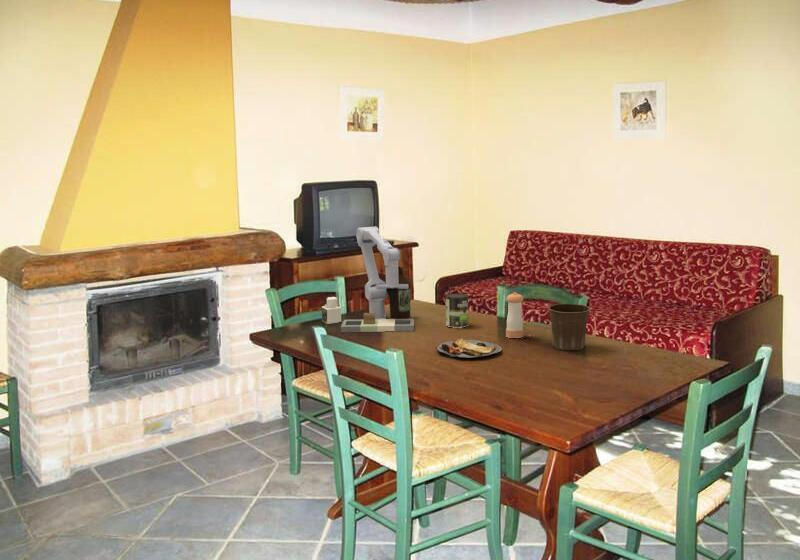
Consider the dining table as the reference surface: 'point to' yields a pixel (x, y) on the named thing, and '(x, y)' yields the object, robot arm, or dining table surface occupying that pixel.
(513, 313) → the pepper shaker
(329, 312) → the medicine bottle
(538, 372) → the dining table surface
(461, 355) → the food plate
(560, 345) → the plant pot
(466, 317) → the coffee can
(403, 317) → the olive oil
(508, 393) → the dining table surface
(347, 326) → the trap lane
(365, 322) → the walnut block
